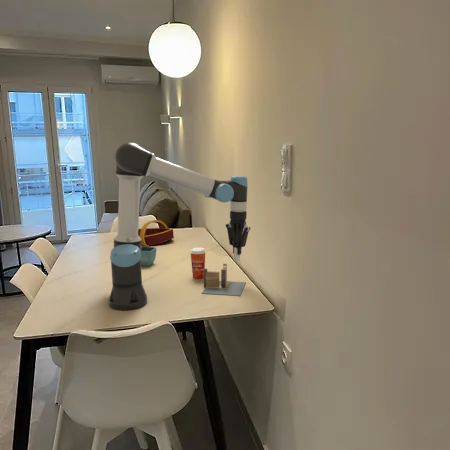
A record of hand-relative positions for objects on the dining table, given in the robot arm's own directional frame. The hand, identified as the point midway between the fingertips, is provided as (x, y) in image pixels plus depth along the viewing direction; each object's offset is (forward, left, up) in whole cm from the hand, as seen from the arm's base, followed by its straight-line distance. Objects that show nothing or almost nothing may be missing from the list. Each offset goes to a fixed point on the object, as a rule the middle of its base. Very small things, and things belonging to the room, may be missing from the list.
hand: (236, 260), depth 182 cm
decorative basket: (+72, +68, -11) cm, 100 cm away
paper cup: (+6, +20, -11) cm, 23 cm away
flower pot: (+21, +53, -11) cm, 58 cm away
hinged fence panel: (-2, +6, -10) cm, 12 cm away
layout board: (-7, +4, -11) cm, 14 cm away
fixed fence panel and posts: (-7, +9, -11) cm, 16 cm away
